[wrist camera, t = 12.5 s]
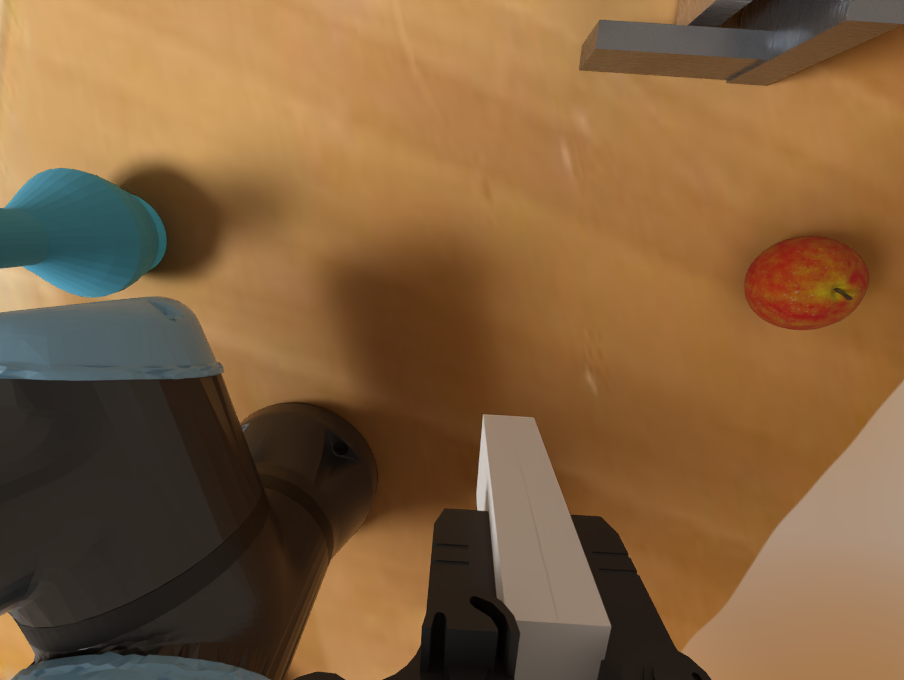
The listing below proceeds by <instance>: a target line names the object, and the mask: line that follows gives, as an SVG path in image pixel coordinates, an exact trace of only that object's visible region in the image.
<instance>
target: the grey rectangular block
mask: <svg viewBox="0 0 904 680" xmlns="http://www.w3.org/2000/svg"><path fill="white" fill-rule="evenodd" d="M751 1H752V0H680V2H679V7H678V13H677V18H676V24H675V25H687V26H703V27H718V26H720V25H721V24H722V23H724V22H725V21H726V20H727V19H729V18H730V17H731V16H733V15H734V14H735V13H737V12H738V11H739V10H741V9H742V8H743V7H745V6H746V5H747V4H748V3H750V2H751Z"/></svg>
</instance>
